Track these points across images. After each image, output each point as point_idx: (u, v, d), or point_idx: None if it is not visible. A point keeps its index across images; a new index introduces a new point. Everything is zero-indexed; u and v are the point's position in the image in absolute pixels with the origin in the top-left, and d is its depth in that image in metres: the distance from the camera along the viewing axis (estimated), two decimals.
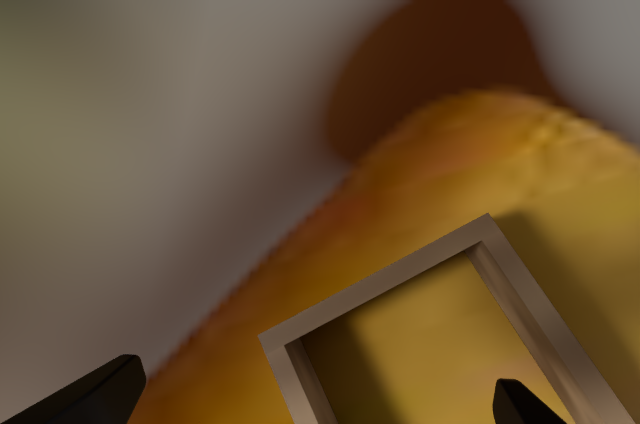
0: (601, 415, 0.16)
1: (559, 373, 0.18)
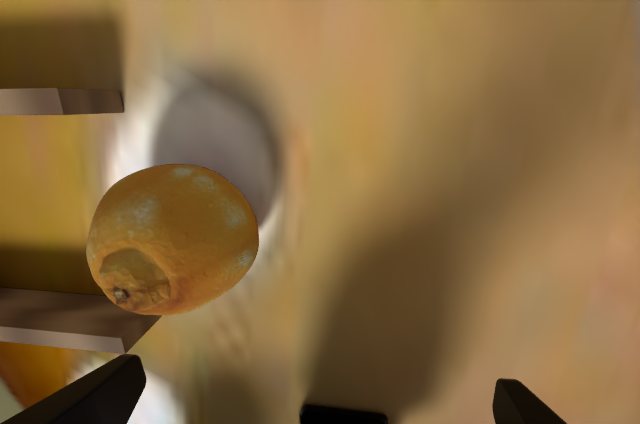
0: None
1: None
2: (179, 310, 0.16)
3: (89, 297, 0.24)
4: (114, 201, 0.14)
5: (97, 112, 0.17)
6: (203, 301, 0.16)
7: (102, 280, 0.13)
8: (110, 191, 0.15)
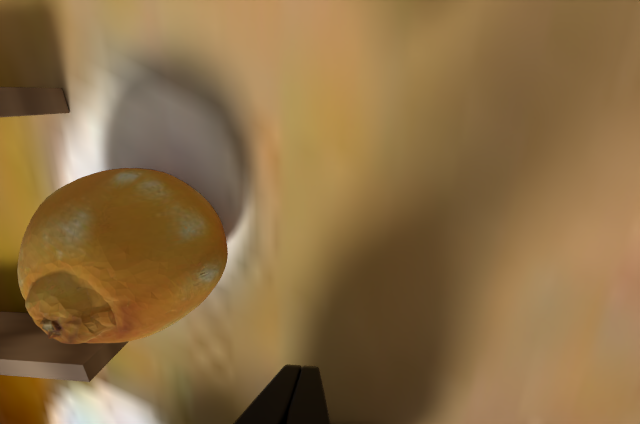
0: None
1: None
2: (132, 337, 0.13)
3: None
4: (43, 216, 0.12)
5: (33, 114, 0.15)
6: (160, 325, 0.14)
7: (28, 311, 0.11)
8: (42, 204, 0.13)
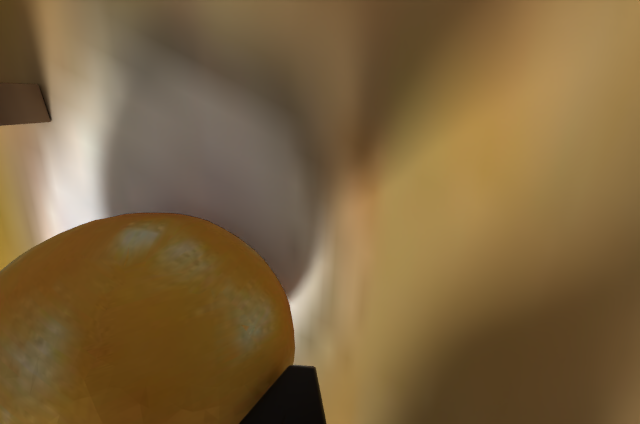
0: None
1: None
2: None
3: None
4: None
5: None
6: None
7: None
8: None
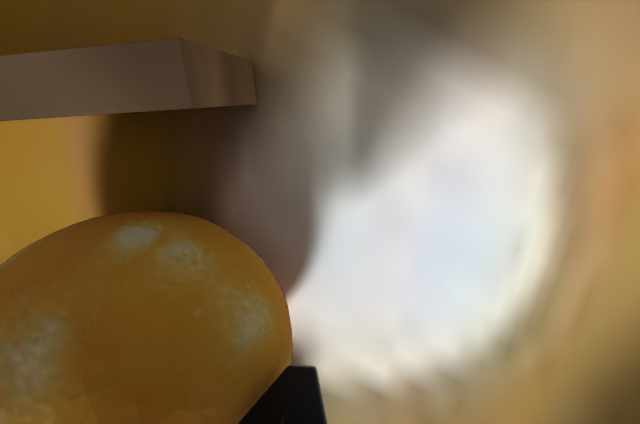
0: None
1: None
2: None
3: None
4: None
5: (232, 104, 0.08)
6: None
7: None
8: None
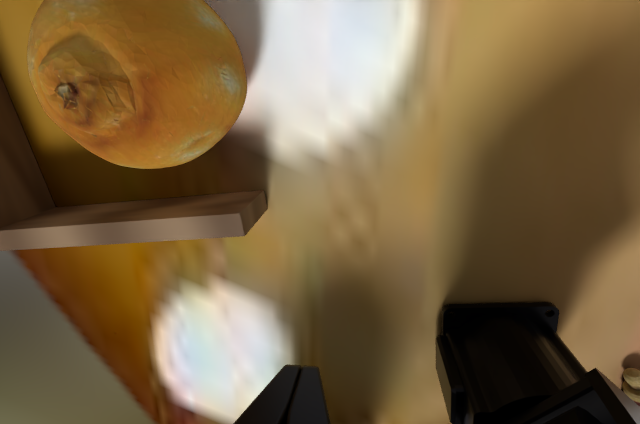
0: None
1: None
2: (153, 141, 0.13)
3: (176, 198, 0.20)
4: None
5: None
6: (182, 131, 0.13)
7: (41, 75, 0.10)
8: None
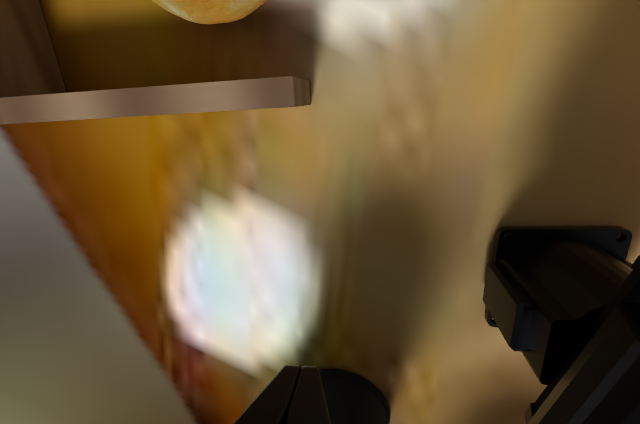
0: None
1: None
2: None
3: None
4: None
5: None
6: None
7: None
8: None
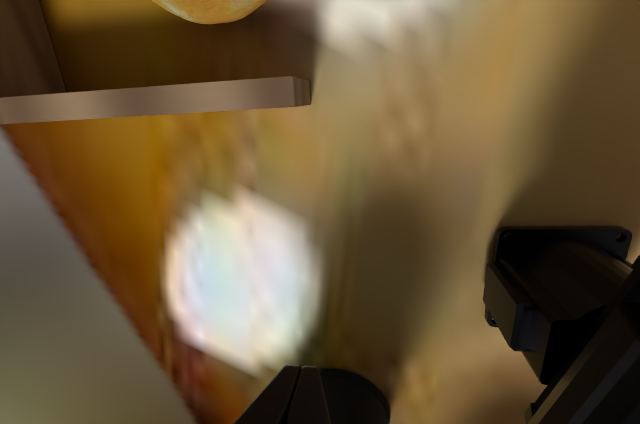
0: None
1: None
2: None
3: None
4: None
5: None
6: None
7: None
8: None
